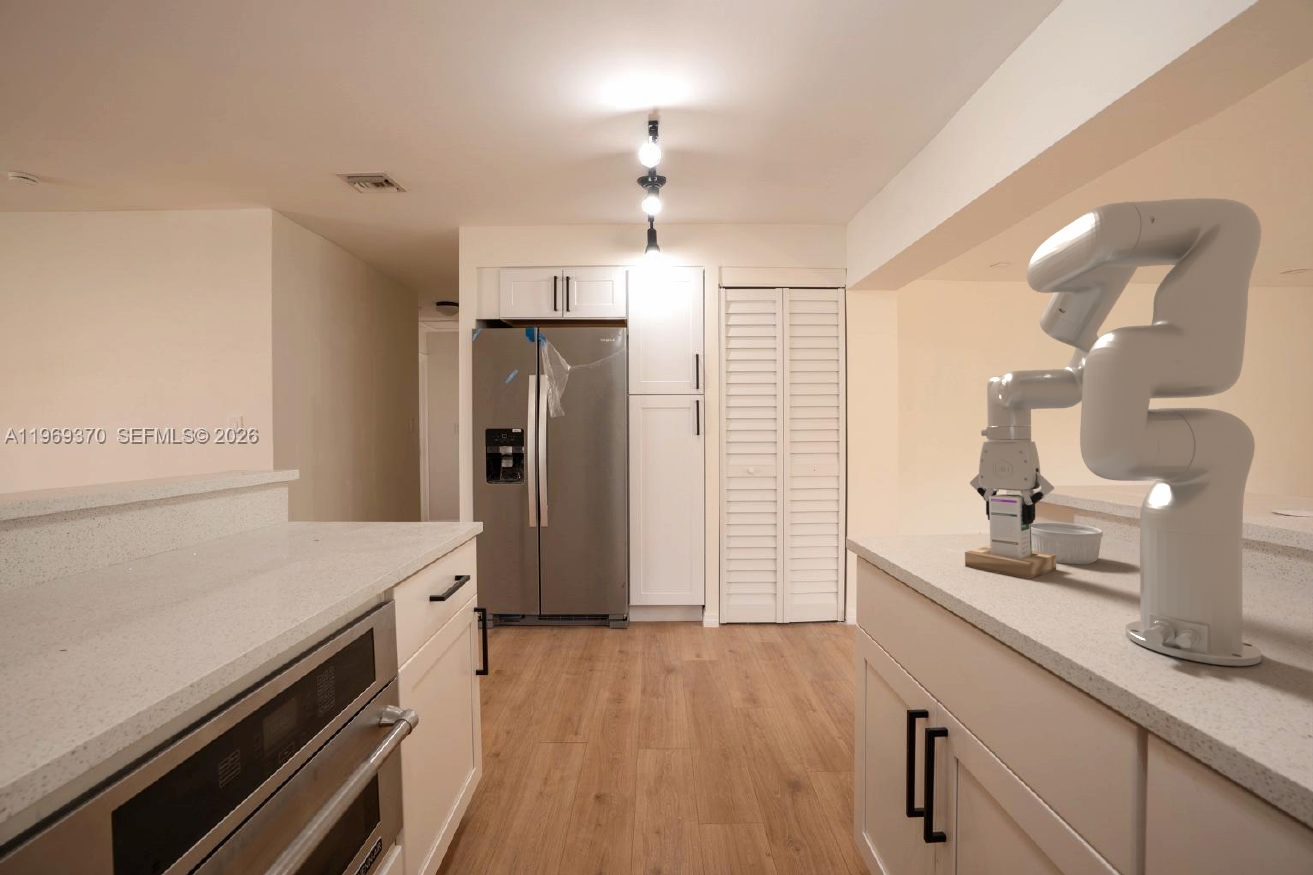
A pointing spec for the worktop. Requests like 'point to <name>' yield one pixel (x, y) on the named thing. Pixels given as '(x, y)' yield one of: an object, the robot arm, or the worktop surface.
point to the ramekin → (1067, 541)
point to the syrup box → (1009, 527)
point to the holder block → (1011, 563)
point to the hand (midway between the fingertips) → (1010, 520)
